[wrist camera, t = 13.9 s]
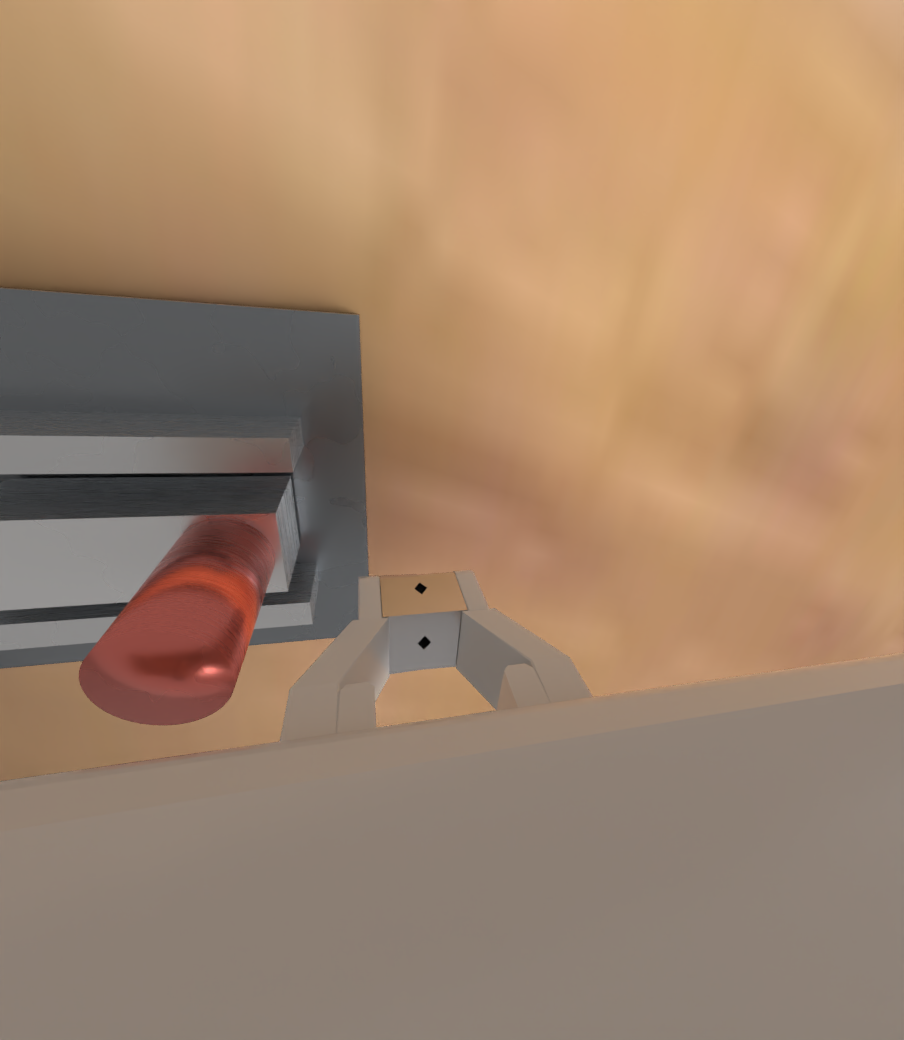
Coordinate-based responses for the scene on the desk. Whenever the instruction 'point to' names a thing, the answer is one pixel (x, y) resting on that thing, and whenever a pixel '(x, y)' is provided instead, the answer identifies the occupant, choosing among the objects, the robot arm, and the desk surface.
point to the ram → (152, 578)
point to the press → (189, 433)
